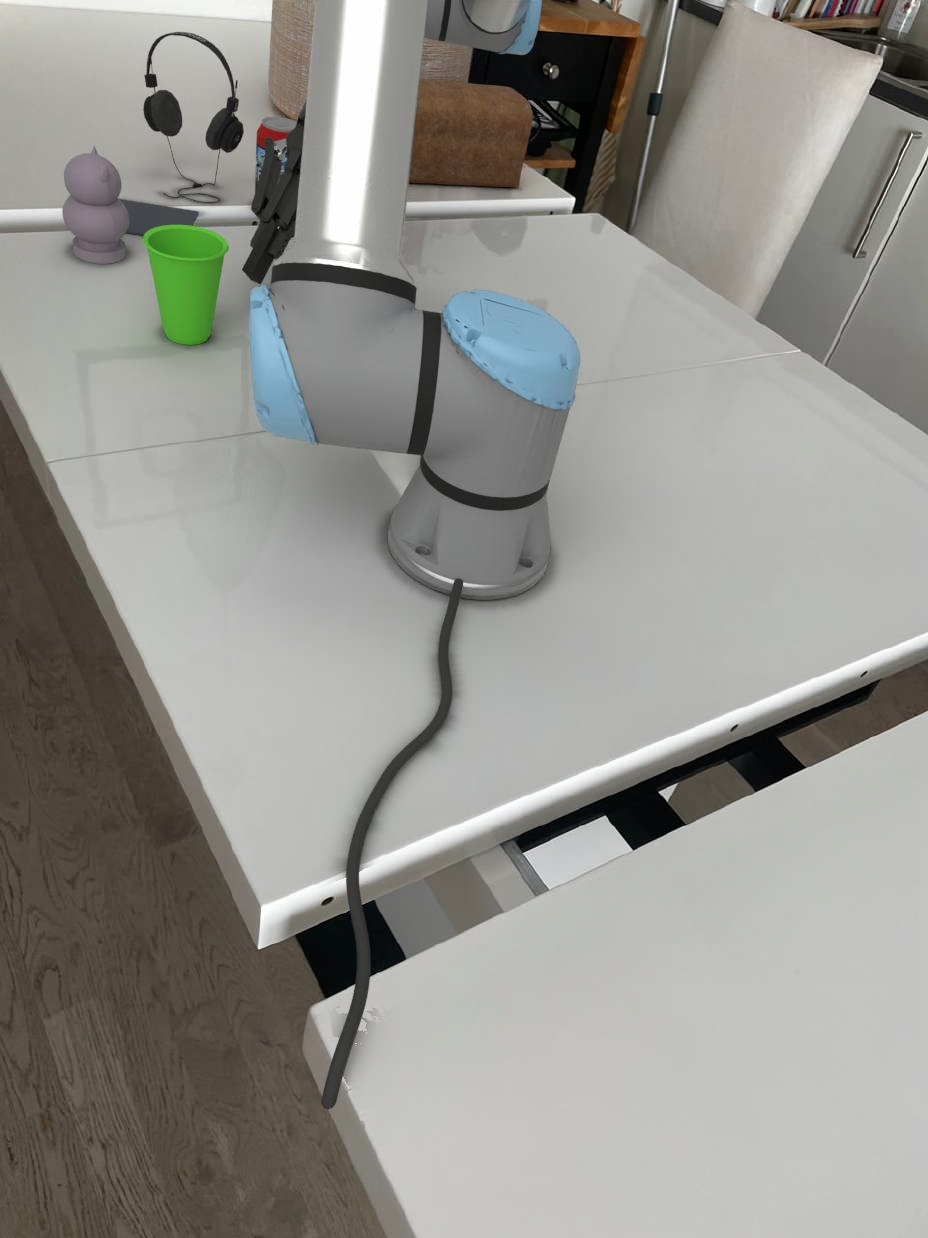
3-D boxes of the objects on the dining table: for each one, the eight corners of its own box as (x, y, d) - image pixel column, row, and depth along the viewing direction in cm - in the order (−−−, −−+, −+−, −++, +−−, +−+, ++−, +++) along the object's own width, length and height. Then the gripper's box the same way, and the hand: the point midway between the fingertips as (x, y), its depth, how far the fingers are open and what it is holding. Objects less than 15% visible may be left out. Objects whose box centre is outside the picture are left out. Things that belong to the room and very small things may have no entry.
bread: (521, 190, 172) (539, 102, 163) (333, 181, 160) (341, 85, 150) (491, 161, 182) (507, 77, 172) (311, 151, 169) (317, 59, 159)
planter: (468, 113, 203) (498, -75, 181) (448, 167, 175) (481, -48, 154) (293, 75, 201) (303, -119, 180) (244, 123, 174) (249, -100, 152)
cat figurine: (59, 239, 127) (49, 141, 119) (122, 238, 130) (116, 142, 122) (73, 268, 121) (64, 167, 114) (138, 265, 125) (133, 168, 117)
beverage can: (245, 206, 146) (247, 119, 138) (272, 196, 150) (275, 111, 143) (282, 220, 144) (287, 133, 136) (309, 210, 149) (314, 125, 141)
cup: (138, 318, 115) (133, 224, 108) (215, 314, 119) (215, 223, 112) (157, 355, 109) (153, 259, 102) (237, 350, 113) (239, 257, 106)
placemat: (185, 241, 133) (185, 240, 133) (100, 229, 131) (100, 227, 131) (198, 212, 141) (198, 211, 141) (119, 200, 139) (119, 198, 139)
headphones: (119, 181, 144) (110, 27, 131) (161, 163, 153) (156, 16, 140) (211, 210, 142) (211, 56, 129) (248, 189, 151) (252, 43, 138)
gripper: (392, 143, 123) (306, 309, 122) (305, 112, 126) (221, 274, 125) (374, 103, 116) (283, 280, 115) (283, 72, 119) (194, 243, 118)
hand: (251, 276), depth 120 cm, fingers closed
